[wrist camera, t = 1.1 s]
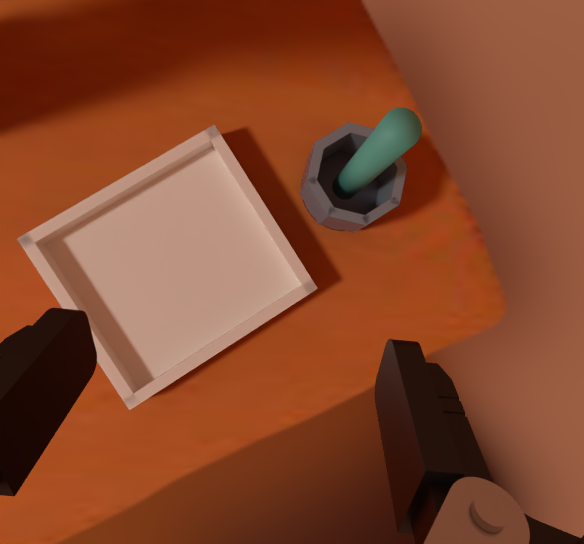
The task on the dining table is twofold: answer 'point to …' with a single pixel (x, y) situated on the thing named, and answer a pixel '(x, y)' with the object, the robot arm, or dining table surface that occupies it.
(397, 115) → the green rounded rod
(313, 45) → the dining table surface
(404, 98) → the dining table surface
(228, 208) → the tray
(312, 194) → the cup
